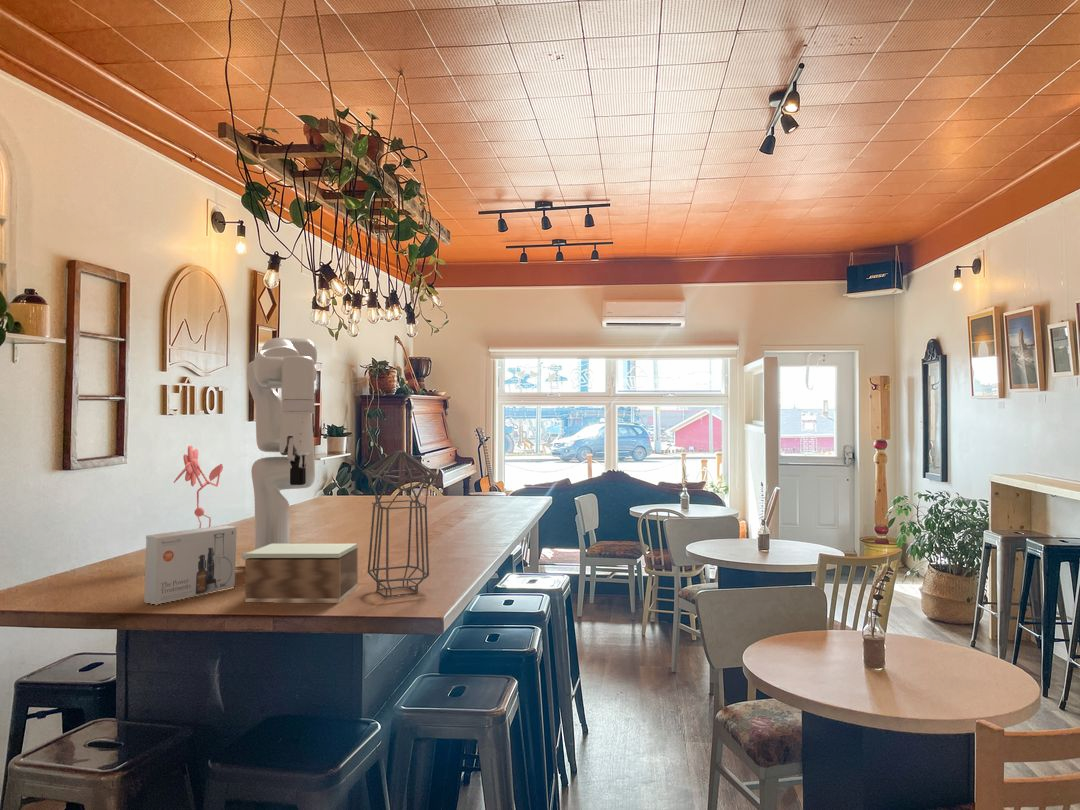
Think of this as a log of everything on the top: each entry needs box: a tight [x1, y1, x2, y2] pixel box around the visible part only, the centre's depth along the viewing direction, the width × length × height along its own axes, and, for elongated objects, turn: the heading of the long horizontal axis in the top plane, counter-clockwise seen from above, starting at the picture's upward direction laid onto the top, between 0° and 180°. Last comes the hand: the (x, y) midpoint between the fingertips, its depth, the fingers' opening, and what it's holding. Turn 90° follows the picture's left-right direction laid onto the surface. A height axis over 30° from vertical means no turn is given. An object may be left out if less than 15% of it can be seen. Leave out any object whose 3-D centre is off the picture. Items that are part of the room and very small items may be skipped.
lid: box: [245, 543, 359, 558], centre depth 181 cm, size 22×16×1 cm
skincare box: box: [143, 524, 238, 605], centre depth 180 cm, size 21×5×16 cm, turn 148°
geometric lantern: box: [361, 450, 439, 598], centre depth 182 cm, size 16×16×35 cm
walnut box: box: [244, 548, 359, 604], centre depth 181 cm, size 22×16×10 cm
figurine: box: [173, 444, 224, 529], centre depth 224 cm, size 15×26×35 cm, turn 5°
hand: (297, 484), depth 177 cm, fingers closed
